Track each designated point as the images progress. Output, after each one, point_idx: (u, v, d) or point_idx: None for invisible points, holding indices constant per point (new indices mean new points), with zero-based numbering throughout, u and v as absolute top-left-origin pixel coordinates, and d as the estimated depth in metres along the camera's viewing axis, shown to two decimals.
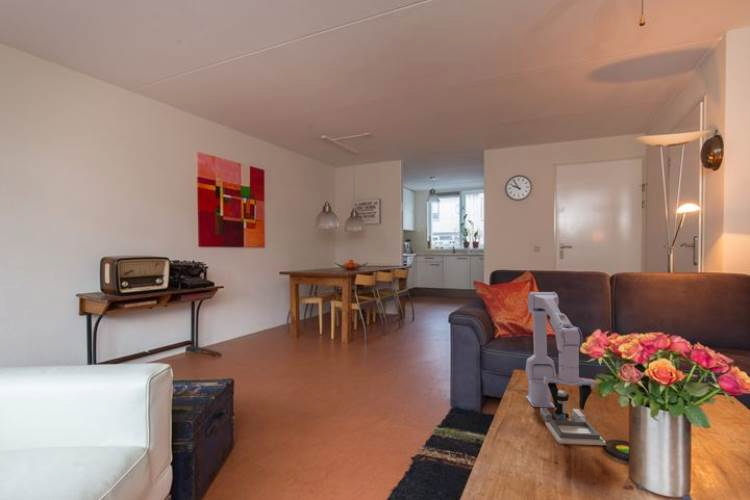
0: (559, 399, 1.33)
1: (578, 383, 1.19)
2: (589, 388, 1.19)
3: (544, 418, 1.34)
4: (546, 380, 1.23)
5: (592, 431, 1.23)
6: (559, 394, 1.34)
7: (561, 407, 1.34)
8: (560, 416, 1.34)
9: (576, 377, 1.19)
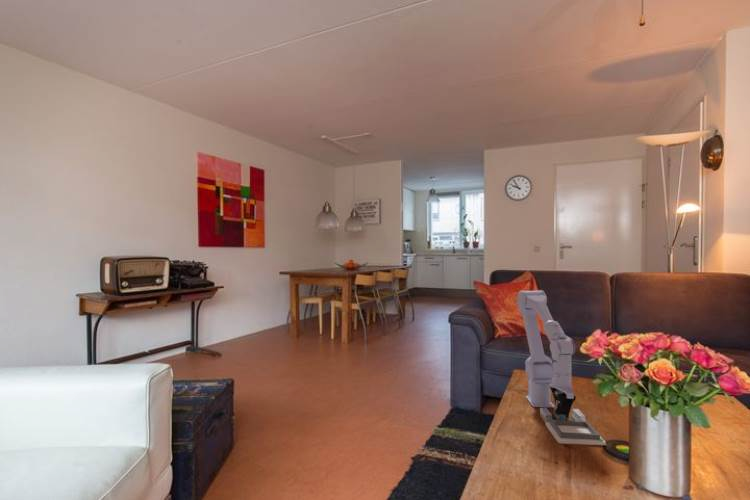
0: None
1: (557, 388, 1.32)
2: (562, 395, 1.30)
3: (544, 418, 1.34)
4: (552, 379, 1.41)
5: (592, 431, 1.23)
6: None
7: None
8: (560, 416, 1.34)
9: (557, 383, 1.33)
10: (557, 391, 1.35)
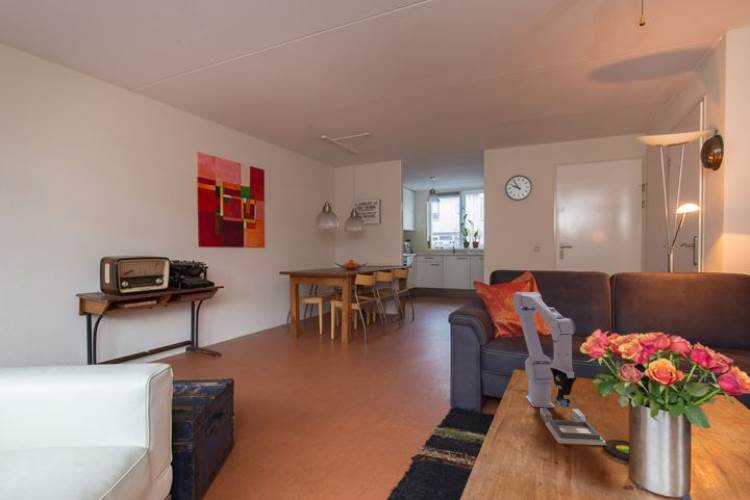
0: (560, 384, 1.32)
1: (558, 368, 1.32)
2: (563, 375, 1.30)
3: (544, 418, 1.34)
4: (552, 361, 1.41)
5: (592, 431, 1.23)
6: None
7: None
8: (561, 402, 1.33)
9: (558, 363, 1.33)
10: None
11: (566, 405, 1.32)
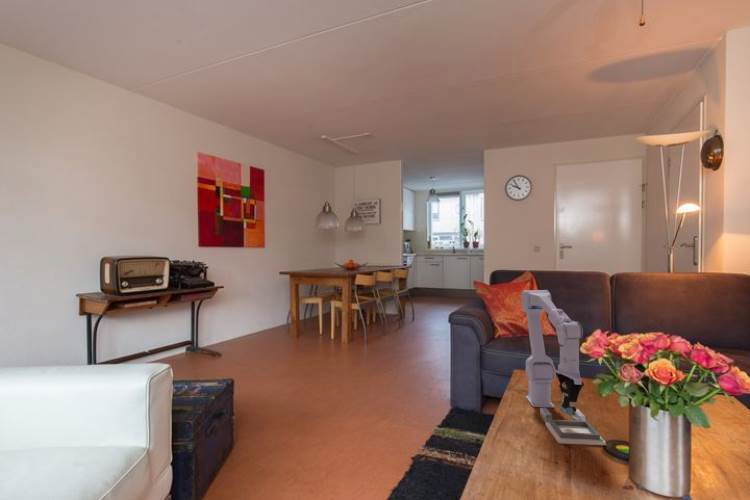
0: (566, 392, 1.27)
1: (564, 374, 1.26)
2: (570, 382, 1.24)
3: (544, 418, 1.34)
4: (558, 366, 1.35)
5: (592, 431, 1.23)
6: None
7: (568, 400, 1.28)
8: (567, 409, 1.28)
9: (564, 368, 1.27)
10: (564, 383, 1.29)
11: (572, 413, 1.26)
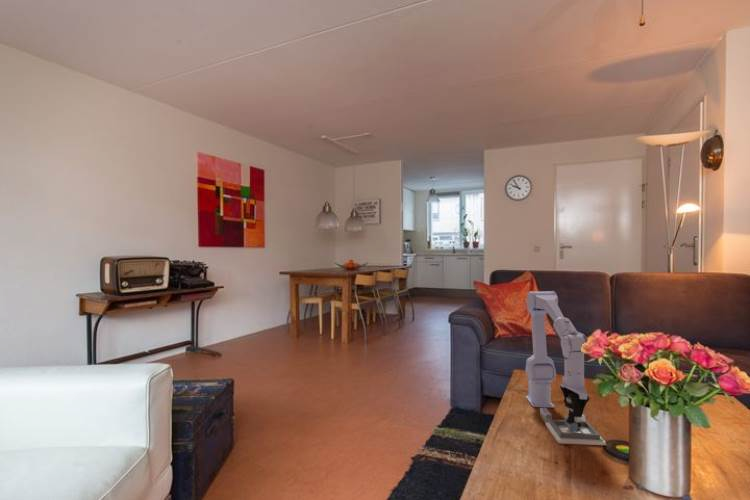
0: (571, 407, 1.23)
1: (569, 388, 1.22)
2: (575, 396, 1.20)
3: (544, 418, 1.34)
4: (562, 378, 1.31)
5: (592, 431, 1.23)
6: None
7: (573, 415, 1.24)
8: (572, 425, 1.24)
9: (569, 382, 1.23)
10: (569, 398, 1.25)
11: (577, 429, 1.23)
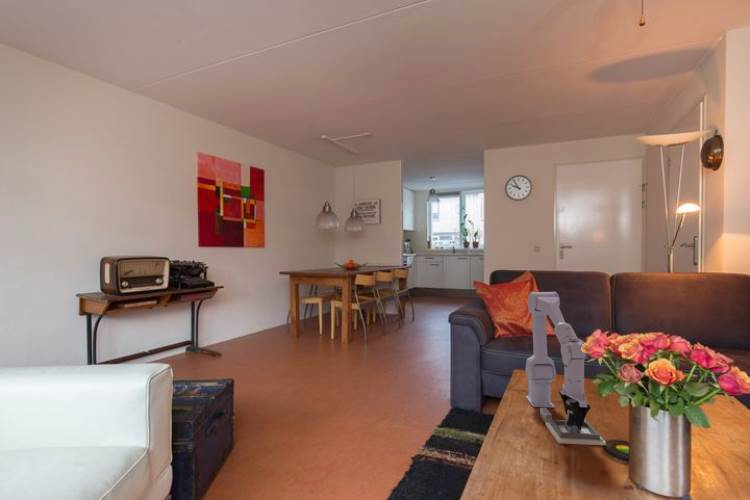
0: (571, 409, 1.23)
1: (569, 395, 1.23)
2: (576, 405, 1.19)
3: (544, 418, 1.34)
4: (562, 385, 1.31)
5: (592, 431, 1.23)
6: None
7: (573, 418, 1.24)
8: (572, 427, 1.24)
9: (569, 389, 1.23)
10: (569, 400, 1.25)
11: (577, 432, 1.23)
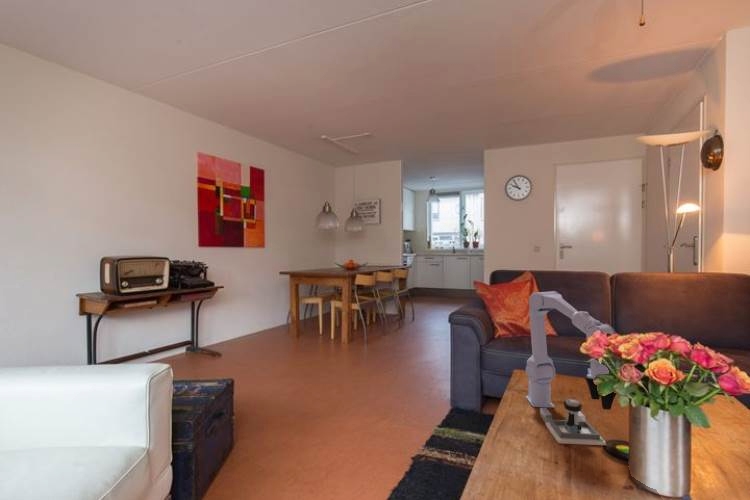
0: (571, 409, 1.23)
1: None
2: None
3: (544, 418, 1.34)
4: (588, 370, 1.30)
5: (592, 431, 1.23)
6: (571, 404, 1.23)
7: (573, 418, 1.24)
8: (572, 428, 1.24)
9: (596, 373, 1.22)
10: (568, 400, 1.25)
11: (577, 432, 1.23)
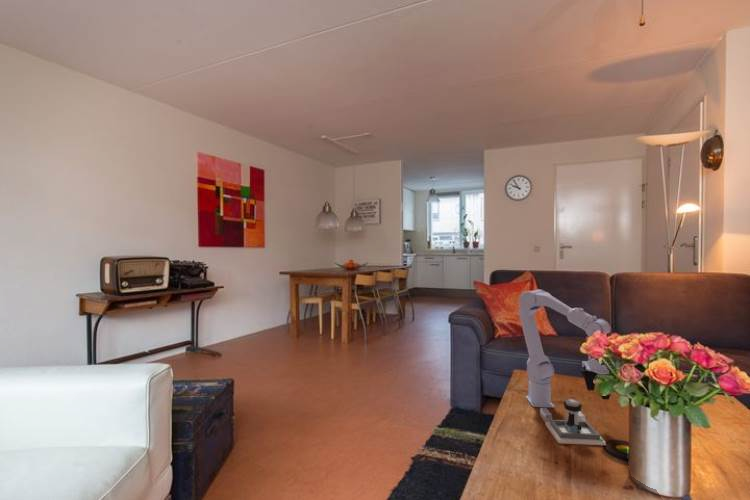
0: (571, 409, 1.23)
1: (595, 371, 1.29)
2: None
3: (544, 418, 1.34)
4: (582, 363, 1.38)
5: (592, 431, 1.23)
6: (571, 404, 1.23)
7: (573, 418, 1.24)
8: (572, 428, 1.24)
9: (595, 366, 1.29)
10: (568, 400, 1.25)
11: (577, 432, 1.23)
